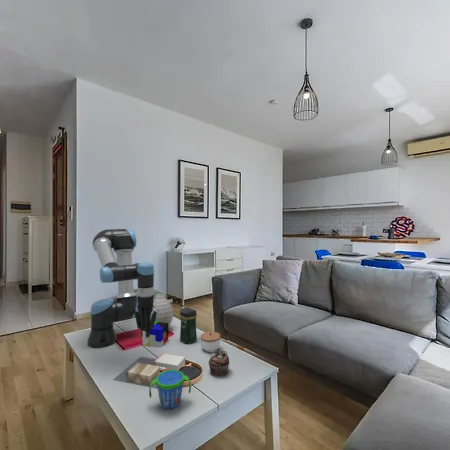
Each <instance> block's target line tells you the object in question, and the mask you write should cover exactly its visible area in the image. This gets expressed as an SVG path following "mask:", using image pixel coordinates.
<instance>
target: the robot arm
mask: <svg viewBox="0 0 450 450" xmlns="http://www.w3.org/2000/svg"><path fill="white" fill-rule="evenodd" d="M92 247H93V250H94V251H95V252H96V253H97V256H98V260H99V262H100V265H101V268H99V269H100V270H99V280H100V282H101V283H103V284H104V283H105V284H107V283H116V282H117V287H118V289H117V291H118V294H117V296H116V297H115V299H116V300H114V299H113V298H104V299H100V300H97V301H95V302H93V303H92V304H91V306H90V331H89V335H88V338H87V347H90V348H93V349H102V348H105V347H108V346H111V345H113V344H115V343H116V342H117V341H116V339H117V340H118V338H117V337H118V336H117V334H116V332H115V328H114V323H115V322H119V321H120V322H121V321H127V320H132V319H135V322H136V328H137V329H139V330H140V331H141V332H140V334H141V335H140V336H141V337H142V345H144V346H145V345H146V344H147V343H148V337H149V336H150V330H152V329H153V328H154V324H155V320H156V315H157V313H158V312H159V311H158V310H155V309H154V306H153V303H154V298H155V296H154V294H155V290H154V288H155V287H154V286H155V279H154V278H155V268H154V267H155V266H154V263H153V262H148V261H146V262H145V261H144V262H135V263H133V261H132V260H133V258H132V253H133V251H134V249H135V248H136V247H137V237H136V233H135V231H134V230H133V229H131V228H130V229H129V228H118V229H117V228H116V229H115V228H114V229H112V228H111V229H103V230H101V231H99V232H98V233H97V234H95V236H94V238H93V240H92ZM114 253H115V254H114ZM115 255H116V256H115ZM135 280H137V294H136V293H135V291H134V281H135ZM151 312H152V317H151V321H150V316H151Z"/></svg>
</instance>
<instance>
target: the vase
mask: <svg viewBox="0 0 450 450" xmlns="http://www.w3.org/2000/svg"><path fill="white" fill-rule="evenodd" d="M153 306H154V309H155V310H158V311H159V312H158V313H157V315H156V320H155V322H162V323H168V328H170V326H171V324H172V322H173V318H174V309H173V306H172V304H171V302H170V301H169V300H168V299H167V297H165V295H164V294H163V293H162V294H161V293H160V294H156V295H155V296H154V303H153ZM151 317H152V312H151V316H150V321H151Z"/></svg>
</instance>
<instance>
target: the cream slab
mask: <svg viewBox="0 0 450 450" xmlns="http://www.w3.org/2000/svg"><path fill="white" fill-rule="evenodd" d="M155 359H156V360H155V361H154V366H161V367H165V368H168V369H170V370H179V369H180V368H181V367H182V366H183V365H184V364H186V357H185V356H182V355H181V356H180V355H176V354H175V355H174V354H168V353H161V354H160V355H159V356H158V357H157V358H155Z"/></svg>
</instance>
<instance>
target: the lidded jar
mask: <svg viewBox="0 0 450 450" xmlns="http://www.w3.org/2000/svg"><path fill="white" fill-rule="evenodd" d="M199 339H200V345H201V347H202V349H203V350H204V352H207V353H209V354H210V353H211V354H213V352H215V351H217V350H218V349H219V347H220V344H221V333H219V332H216V331H206V332H203V333H201V334H200V337H199Z"/></svg>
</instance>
